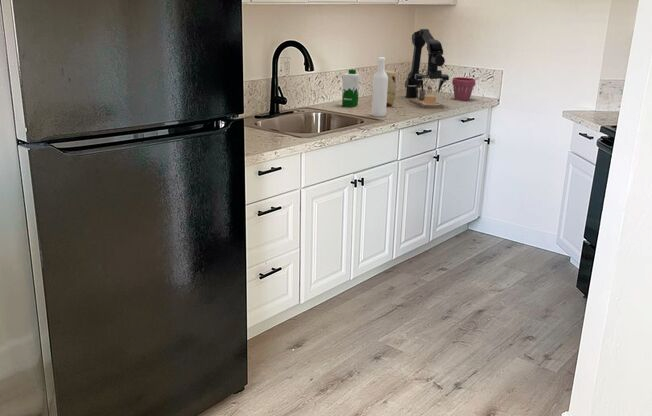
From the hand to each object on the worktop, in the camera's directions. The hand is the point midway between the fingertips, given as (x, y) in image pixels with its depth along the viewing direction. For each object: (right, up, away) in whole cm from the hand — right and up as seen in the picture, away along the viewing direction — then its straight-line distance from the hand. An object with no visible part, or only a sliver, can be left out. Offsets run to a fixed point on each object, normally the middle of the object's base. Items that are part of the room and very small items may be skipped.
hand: (430, 91), depth 361 cm
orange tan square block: (0, -6, +2) cm, 6 cm away
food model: (-25, -8, +1) cm, 26 cm away
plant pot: (+24, 0, +29) cm, 38 cm away
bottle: (-32, -18, -28) cm, 47 cm away
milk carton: (-47, -9, -4) cm, 48 cm away
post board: (-2, -6, +8) cm, 10 cm away
